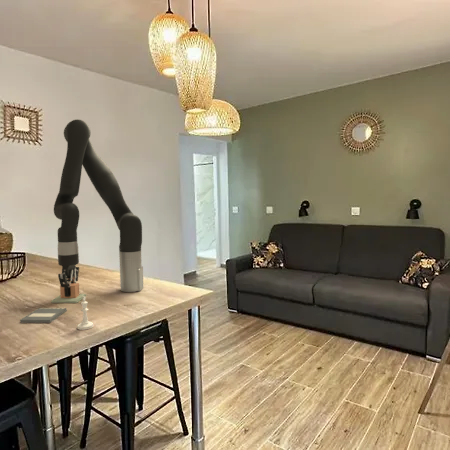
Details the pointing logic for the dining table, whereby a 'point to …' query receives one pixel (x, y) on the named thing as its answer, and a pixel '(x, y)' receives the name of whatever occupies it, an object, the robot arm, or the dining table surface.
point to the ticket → (43, 315)
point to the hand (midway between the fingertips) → (70, 294)
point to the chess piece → (84, 317)
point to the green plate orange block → (73, 298)
